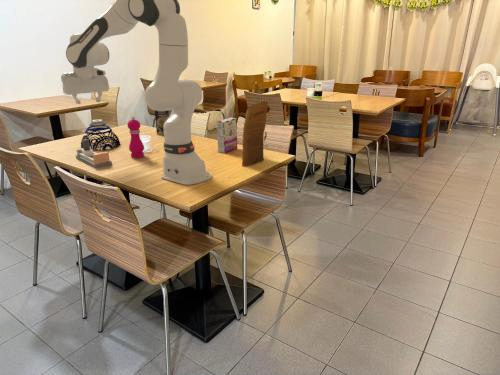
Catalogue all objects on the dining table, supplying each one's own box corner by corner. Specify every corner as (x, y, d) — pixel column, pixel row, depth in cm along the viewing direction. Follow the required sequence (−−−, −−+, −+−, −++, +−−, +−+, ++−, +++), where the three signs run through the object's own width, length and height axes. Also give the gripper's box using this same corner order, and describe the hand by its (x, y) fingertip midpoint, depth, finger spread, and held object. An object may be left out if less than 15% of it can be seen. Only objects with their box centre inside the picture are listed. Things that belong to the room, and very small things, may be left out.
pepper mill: (140, 158, 186) (136, 118, 179) (127, 158, 188) (122, 117, 180) (147, 154, 193) (143, 115, 186) (134, 154, 194) (129, 115, 187)
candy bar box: (230, 147, 205) (229, 117, 199) (237, 148, 203) (237, 118, 197) (217, 152, 197) (216, 120, 191) (224, 153, 194) (224, 121, 188)
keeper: (93, 155, 186) (91, 140, 183) (86, 157, 184) (83, 141, 181) (89, 153, 189) (86, 138, 186) (82, 155, 187) (79, 139, 184)
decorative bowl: (89, 153, 196) (84, 125, 191) (76, 145, 210) (71, 120, 205) (125, 146, 208) (122, 120, 203) (111, 139, 222) (107, 115, 217)
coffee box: (156, 134, 233) (153, 108, 227) (160, 132, 239) (158, 106, 233) (170, 135, 232) (168, 108, 226) (174, 132, 238) (172, 106, 232)
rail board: (112, 164, 178) (110, 152, 176) (95, 168, 173) (93, 155, 171) (92, 154, 193) (90, 143, 191) (76, 158, 188) (74, 146, 186)
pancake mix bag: (271, 158, 186) (272, 100, 175) (247, 168, 171) (247, 106, 161) (260, 156, 189) (260, 99, 179) (236, 166, 175) (235, 104, 165)
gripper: (63, 73, 163) (68, 106, 168) (108, 71, 176) (112, 101, 182) (57, 72, 167) (63, 104, 173) (102, 70, 181) (106, 99, 186)
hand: (88, 102), depth 177 cm, fingers open, 8 cm apart
